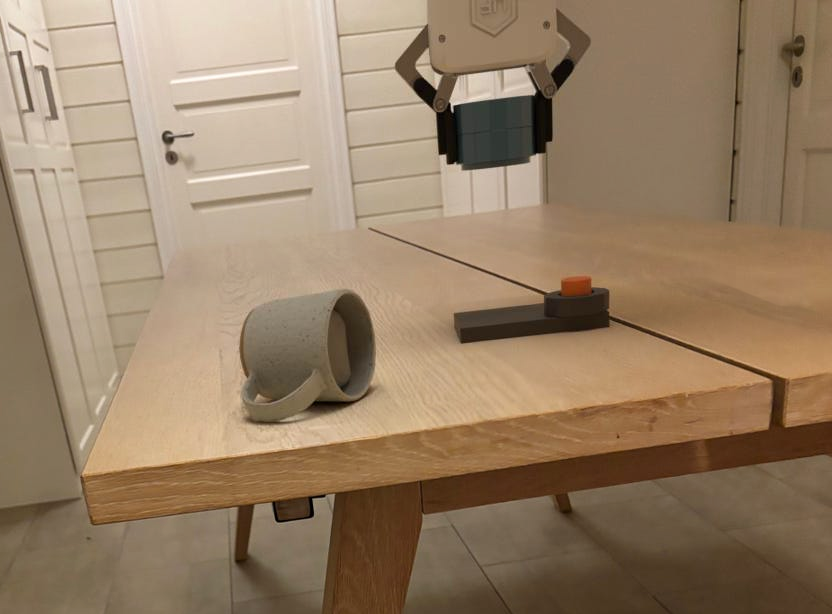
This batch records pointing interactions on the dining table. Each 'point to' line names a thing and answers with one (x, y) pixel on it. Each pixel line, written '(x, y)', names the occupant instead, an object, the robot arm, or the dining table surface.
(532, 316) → the dark piece
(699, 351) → the dining table surface
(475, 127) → the bowl
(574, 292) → the button
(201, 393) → the dining table surface
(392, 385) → the dining table surface
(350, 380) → the ceramic mug
